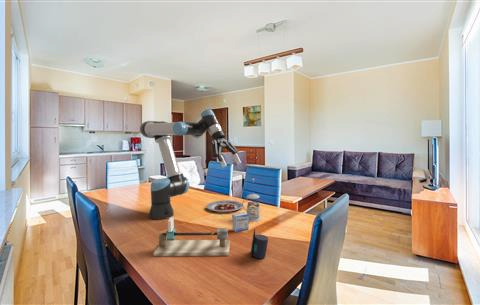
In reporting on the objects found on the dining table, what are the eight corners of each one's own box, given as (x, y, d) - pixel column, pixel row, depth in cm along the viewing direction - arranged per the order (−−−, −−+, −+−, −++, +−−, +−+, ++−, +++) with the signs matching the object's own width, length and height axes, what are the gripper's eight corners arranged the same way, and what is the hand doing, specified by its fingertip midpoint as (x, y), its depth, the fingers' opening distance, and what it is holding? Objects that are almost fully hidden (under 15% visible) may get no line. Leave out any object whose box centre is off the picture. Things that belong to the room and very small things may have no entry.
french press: (260, 222, 141) (260, 180, 139) (241, 220, 143) (240, 179, 141) (262, 216, 150) (262, 177, 148) (244, 215, 153) (243, 176, 151)
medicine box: (235, 232, 126) (235, 216, 125) (232, 229, 130) (231, 214, 129) (248, 229, 130) (248, 214, 129) (244, 226, 133) (244, 211, 133)
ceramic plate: (248, 212, 160) (248, 207, 160) (209, 216, 153) (209, 211, 152) (237, 201, 185) (237, 198, 184) (204, 205, 177) (204, 201, 177)
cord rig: (153, 256, 102) (152, 236, 101) (162, 243, 114) (162, 225, 113) (228, 255, 102) (228, 235, 101) (229, 242, 114) (229, 224, 113)
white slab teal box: (166, 240, 105) (165, 220, 105) (169, 236, 110) (168, 217, 109) (173, 240, 105) (172, 220, 105) (176, 236, 110) (175, 217, 109)
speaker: (246, 256, 100) (248, 232, 99) (250, 251, 105) (253, 228, 105) (263, 262, 97) (266, 237, 96) (267, 256, 102) (270, 232, 102)
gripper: (205, 129, 128) (222, 164, 123) (233, 130, 148) (249, 159, 143) (197, 137, 132) (213, 171, 127) (225, 136, 152) (240, 165, 147)
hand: (232, 165), depth 135 cm, fingers open, 13 cm apart
